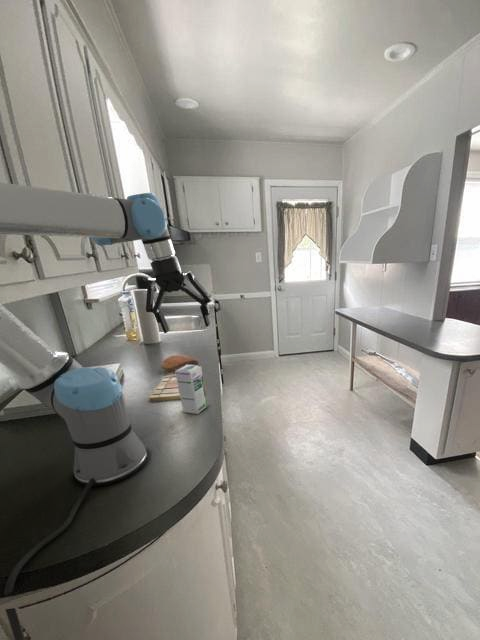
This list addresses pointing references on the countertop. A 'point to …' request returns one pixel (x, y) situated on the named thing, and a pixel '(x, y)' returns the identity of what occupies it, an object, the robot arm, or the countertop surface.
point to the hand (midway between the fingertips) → (187, 328)
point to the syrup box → (191, 388)
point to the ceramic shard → (177, 363)
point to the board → (166, 389)
